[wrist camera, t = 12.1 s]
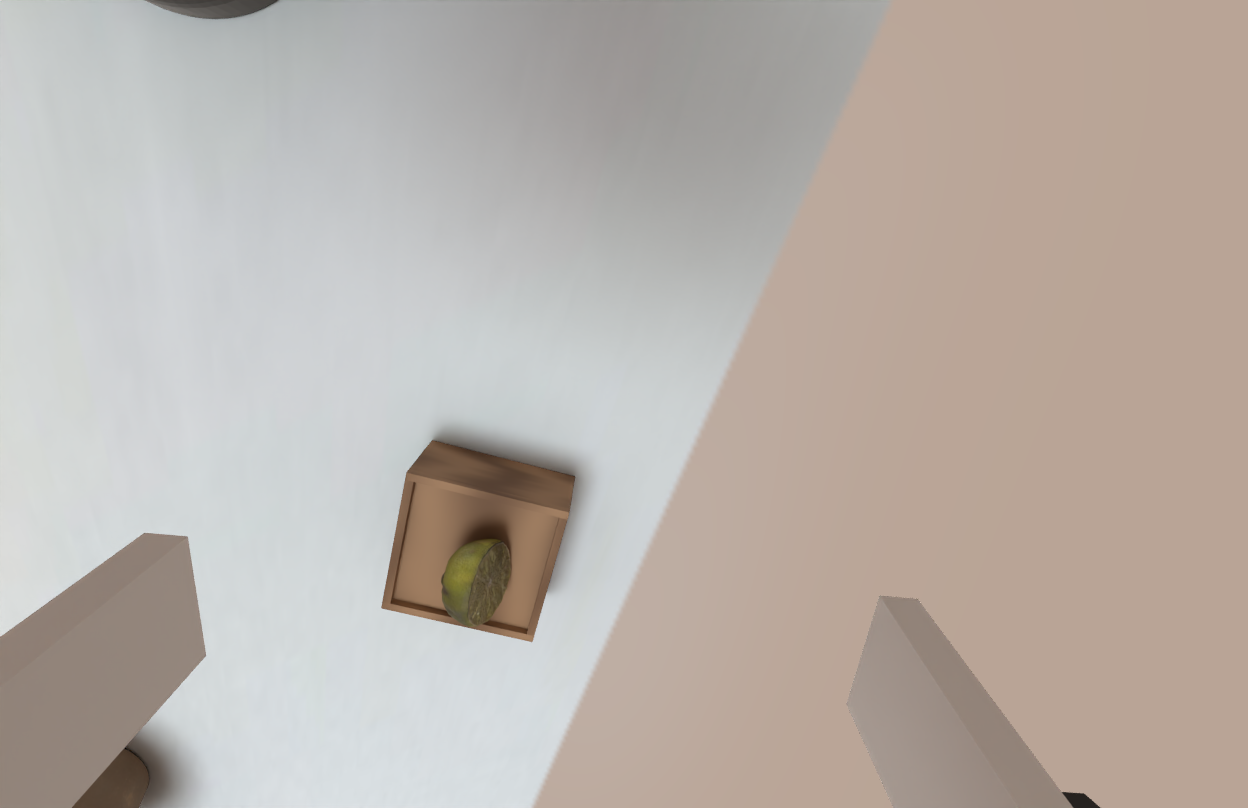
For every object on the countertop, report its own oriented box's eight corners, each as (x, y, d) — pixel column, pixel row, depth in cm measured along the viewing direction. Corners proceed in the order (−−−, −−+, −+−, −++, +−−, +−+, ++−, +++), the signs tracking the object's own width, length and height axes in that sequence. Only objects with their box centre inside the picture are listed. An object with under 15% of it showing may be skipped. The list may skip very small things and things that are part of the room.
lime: (495, 515, 37) (476, 560, 32) (536, 572, 38) (525, 624, 33) (436, 546, 37) (410, 595, 33) (479, 602, 39) (460, 657, 34)
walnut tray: (409, 560, 44) (381, 608, 38) (433, 438, 41) (406, 472, 35) (542, 590, 44) (532, 641, 39) (575, 474, 41) (569, 512, 36)
